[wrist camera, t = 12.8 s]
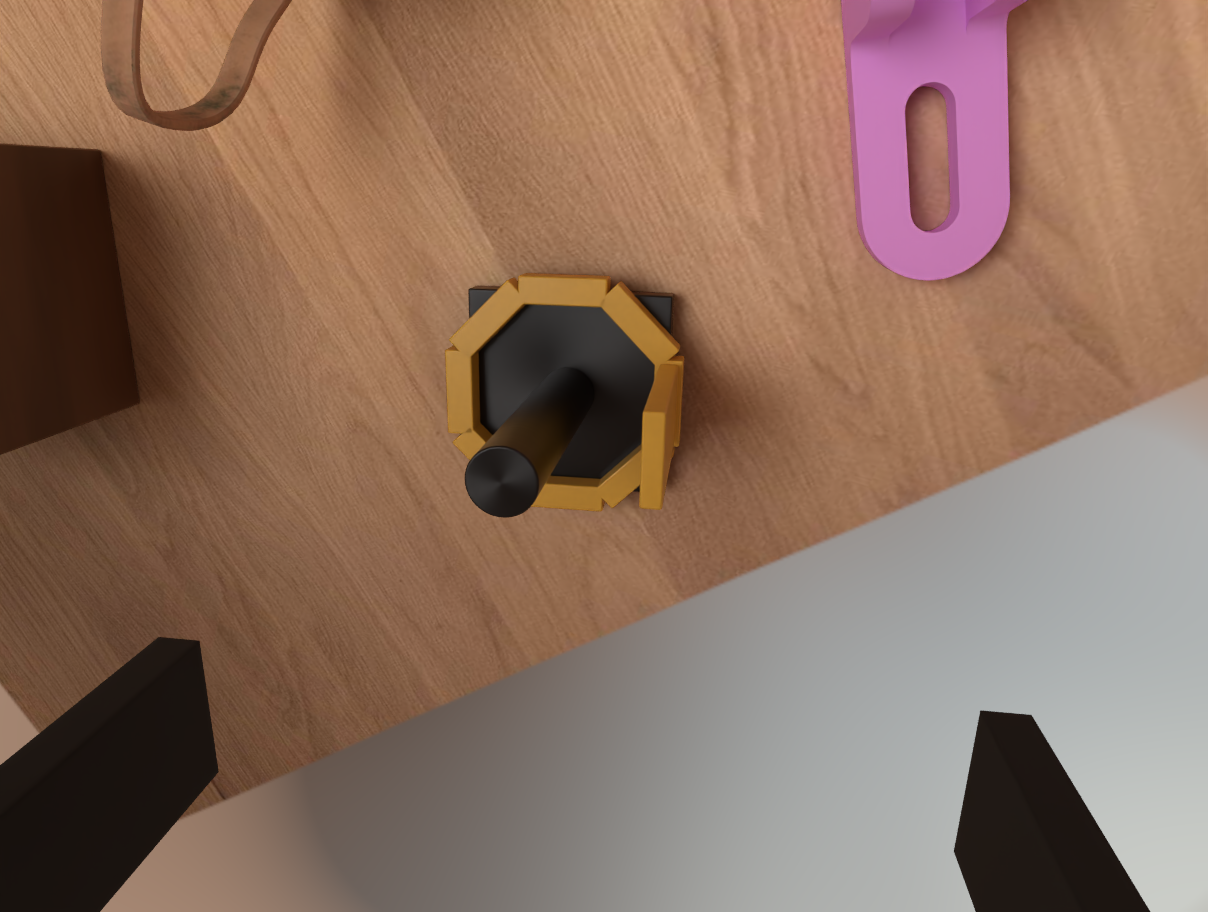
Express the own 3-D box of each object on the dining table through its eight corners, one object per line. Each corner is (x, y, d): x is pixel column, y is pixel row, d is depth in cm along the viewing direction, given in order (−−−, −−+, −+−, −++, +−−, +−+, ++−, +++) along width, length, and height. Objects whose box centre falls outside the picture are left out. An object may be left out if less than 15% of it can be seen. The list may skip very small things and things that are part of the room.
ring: (457, 492, 40) (384, 578, 31) (450, 270, 36) (365, 295, 28) (676, 507, 38) (663, 601, 30) (688, 278, 35) (677, 308, 26)
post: (480, 473, 40) (373, 599, 28) (475, 285, 38) (354, 333, 25) (665, 485, 39) (639, 622, 27) (674, 293, 37) (649, 346, 24)
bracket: (837, -56, 32) (867, -120, 25) (991, -89, 31) (1064, -165, 24) (861, 285, 35) (893, 307, 29) (1000, 265, 34) (1065, 283, 28)
